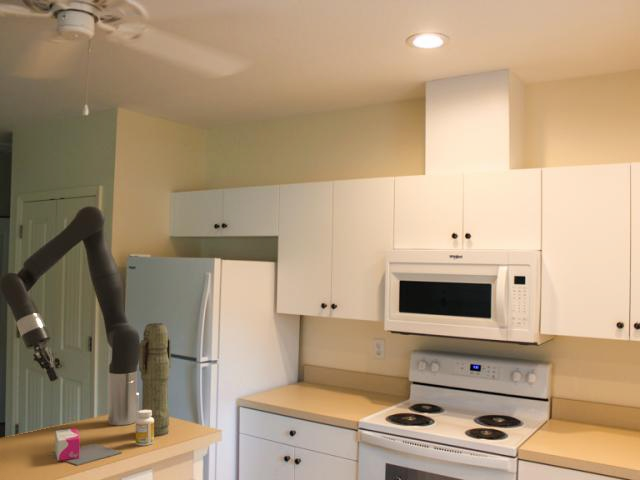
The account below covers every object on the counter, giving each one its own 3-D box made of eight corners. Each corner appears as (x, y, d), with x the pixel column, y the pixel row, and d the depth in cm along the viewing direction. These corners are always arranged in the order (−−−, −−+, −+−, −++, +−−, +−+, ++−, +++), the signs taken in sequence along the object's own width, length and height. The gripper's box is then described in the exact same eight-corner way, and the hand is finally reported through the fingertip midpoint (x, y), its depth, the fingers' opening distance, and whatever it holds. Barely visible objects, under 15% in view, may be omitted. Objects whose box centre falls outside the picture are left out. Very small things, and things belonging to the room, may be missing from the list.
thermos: (130, 436, 196) (132, 324, 198) (156, 427, 207) (157, 321, 208) (152, 439, 192) (153, 325, 194) (177, 430, 203) (178, 322, 204)
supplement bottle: (148, 439, 192) (148, 408, 193) (157, 443, 188) (157, 411, 189) (132, 443, 188) (132, 411, 189) (140, 447, 185) (141, 414, 185)
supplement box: (54, 450, 180) (56, 461, 170) (55, 430, 181) (57, 439, 170) (76, 448, 183) (79, 458, 173) (76, 428, 183) (80, 436, 173)
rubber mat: (94, 444, 187) (94, 443, 187) (122, 453, 179) (122, 452, 179) (49, 455, 176) (49, 454, 176) (77, 465, 168) (77, 464, 168)
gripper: (38, 323, 192) (60, 374, 189) (51, 327, 205) (72, 375, 202) (14, 334, 191) (36, 385, 188) (29, 338, 204) (49, 386, 201)
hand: (54, 380), depth 195 cm, fingers closed
